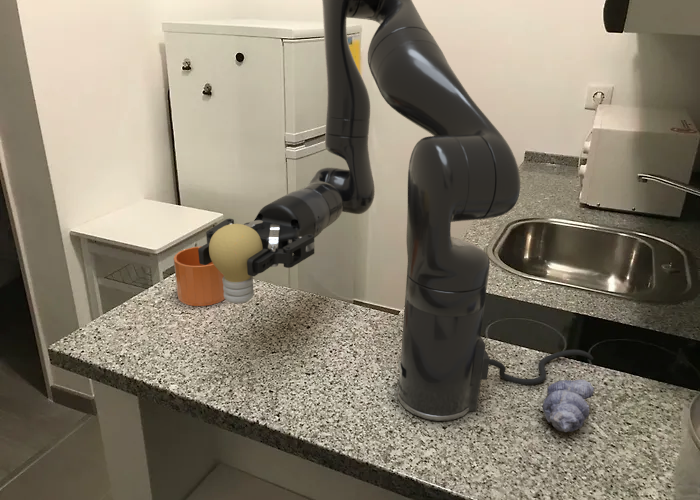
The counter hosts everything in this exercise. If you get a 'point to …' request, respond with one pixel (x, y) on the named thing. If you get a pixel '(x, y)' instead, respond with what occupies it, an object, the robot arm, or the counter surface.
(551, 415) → the seashell
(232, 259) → the light bulb
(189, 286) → the flower pot
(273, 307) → the counter surface
